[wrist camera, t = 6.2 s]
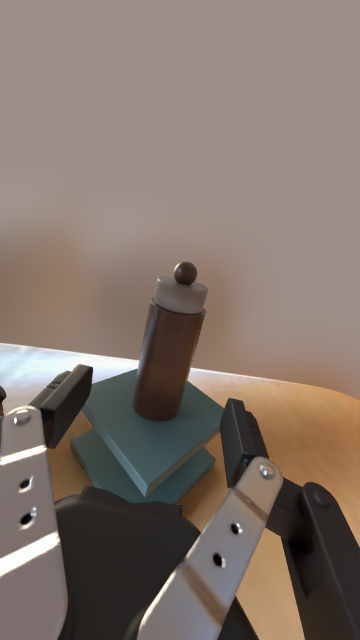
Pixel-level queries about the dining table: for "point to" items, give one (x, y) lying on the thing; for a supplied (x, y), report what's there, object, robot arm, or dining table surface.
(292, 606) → the dining table surface
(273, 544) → the dining table surface
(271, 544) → the dining table surface
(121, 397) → the stand
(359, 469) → the dining table surface
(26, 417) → the robot arm
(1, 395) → the brown clay hollow piece
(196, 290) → the pepper mill
